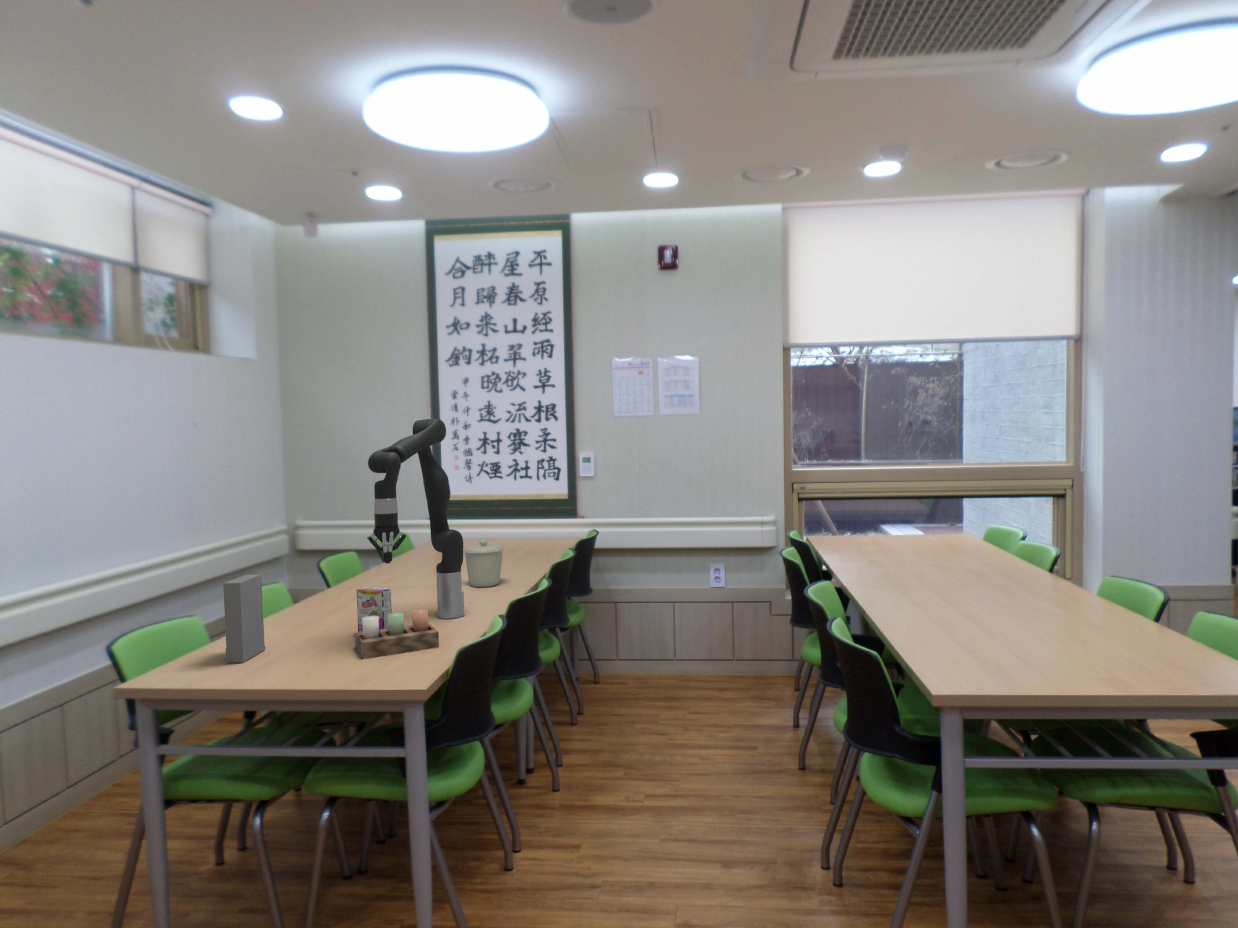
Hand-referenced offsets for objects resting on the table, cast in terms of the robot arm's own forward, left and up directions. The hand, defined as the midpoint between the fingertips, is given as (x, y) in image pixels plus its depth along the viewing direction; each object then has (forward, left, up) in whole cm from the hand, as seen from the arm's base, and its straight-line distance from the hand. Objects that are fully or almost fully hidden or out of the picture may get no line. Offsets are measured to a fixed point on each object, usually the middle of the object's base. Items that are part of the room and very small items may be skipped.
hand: (387, 562), depth 260 cm
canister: (-57, -72, -27) cm, 96 cm away
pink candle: (-8, +9, -23) cm, 26 cm away
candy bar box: (+3, -11, -27) cm, 29 cm away
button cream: (+8, +9, -23) cm, 26 cm away
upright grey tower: (+44, -7, -27) cm, 52 cm away
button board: (0, +9, -27) cm, 28 cm away
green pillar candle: (0, +9, -23) cm, 24 cm away
